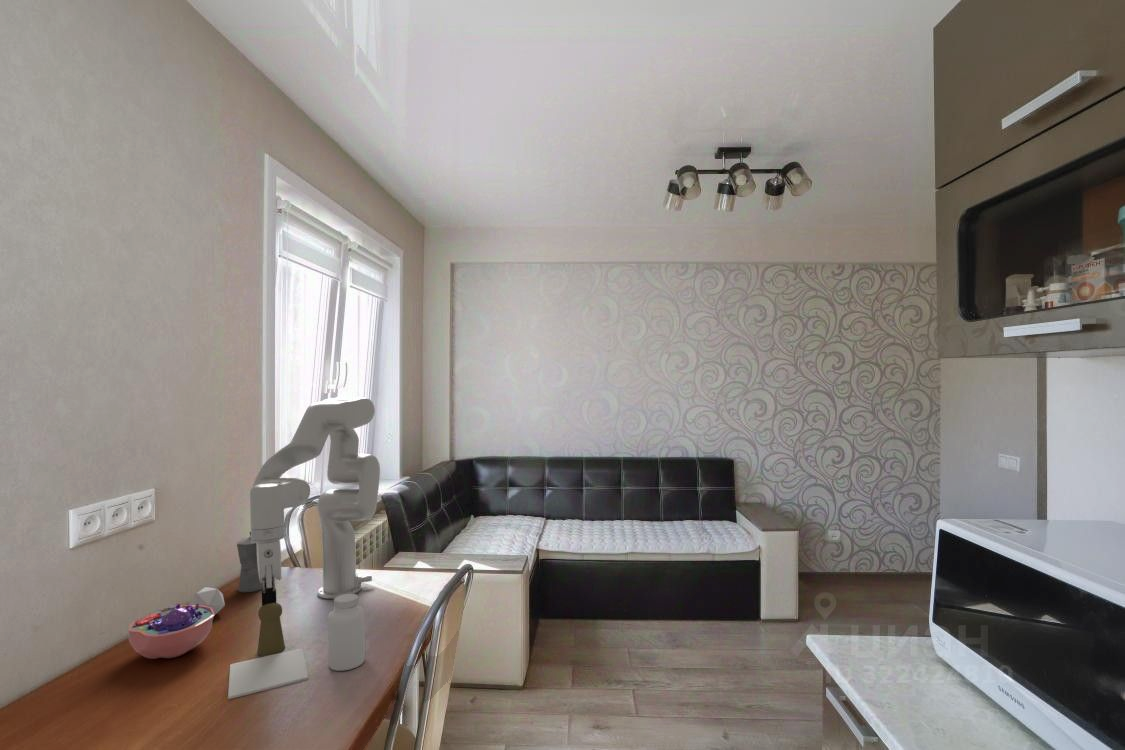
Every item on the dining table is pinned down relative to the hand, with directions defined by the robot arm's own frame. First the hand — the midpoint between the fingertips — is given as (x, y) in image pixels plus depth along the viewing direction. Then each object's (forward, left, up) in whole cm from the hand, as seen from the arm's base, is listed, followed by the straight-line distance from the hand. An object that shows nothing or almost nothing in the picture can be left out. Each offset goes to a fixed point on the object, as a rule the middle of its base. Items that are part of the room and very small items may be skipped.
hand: (269, 606), depth 144 cm
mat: (+1, +17, -9) cm, 20 cm away
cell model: (+21, -7, -9) cm, 24 cm away
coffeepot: (+3, -47, -9) cm, 47 cm away
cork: (0, +5, -9) cm, 11 cm away
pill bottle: (-15, +22, -9) cm, 29 cm away
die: (+15, -28, -9) cm, 32 cm away
